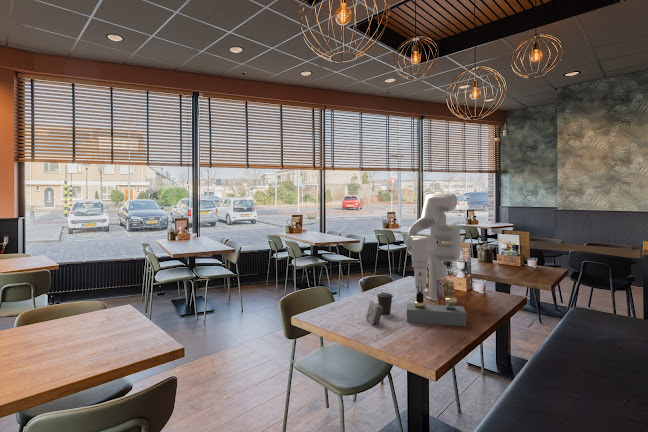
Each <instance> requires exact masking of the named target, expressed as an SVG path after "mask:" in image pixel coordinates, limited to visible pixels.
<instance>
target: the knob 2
mask: <svg viewBox="0 0 648 432" xmlns="http://www.w3.org/2000/svg"><path fill="white" fill-rule="evenodd" d="M457 299H458V298H457V297H455V296H454V297H446V298H445V302H446V303H448V310H454V306H455V305H456V304H458V303H457V301H458V300H457Z"/></svg>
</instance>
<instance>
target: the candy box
mask: <svg viewBox="0 0 648 432" xmlns="http://www.w3.org/2000/svg"><path fill="white" fill-rule="evenodd" d="M446 297H455V281H453V280H449V279H447V278H446V279H444V278H439V279H437V301H436V305H446V306H448V303H446V302H445V298H446Z"/></svg>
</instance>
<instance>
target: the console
mask: <svg viewBox="0 0 648 432" xmlns="http://www.w3.org/2000/svg"><path fill="white" fill-rule="evenodd" d="M406 322H407V323H417V324H418V323H419V324H427V323H429V325H431V324H432V325H441V324H442V325H444V326H457V327H467V312H466V309H465V307H464V306H461V305H454V310H448V306H446V305H437V304H427V303H425V307H423V308H417V307H415V303H408V302H407V303H406Z"/></svg>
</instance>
